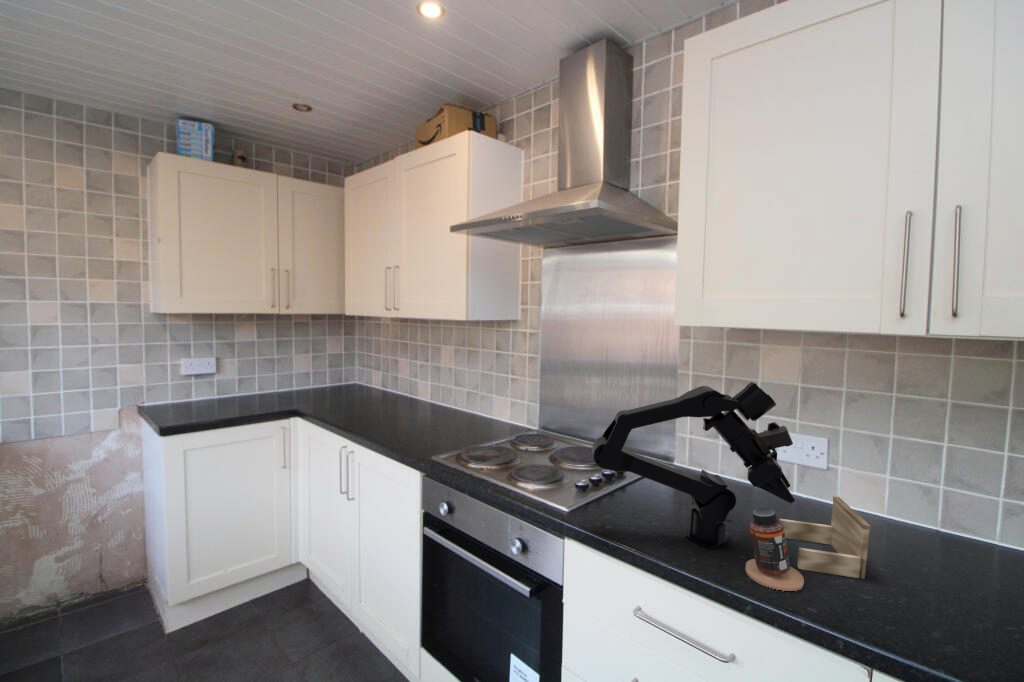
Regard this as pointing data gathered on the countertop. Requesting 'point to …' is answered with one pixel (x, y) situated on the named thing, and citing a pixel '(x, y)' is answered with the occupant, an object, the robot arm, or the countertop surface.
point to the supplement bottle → (769, 542)
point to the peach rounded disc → (775, 578)
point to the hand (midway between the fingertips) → (790, 494)
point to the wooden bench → (833, 542)
